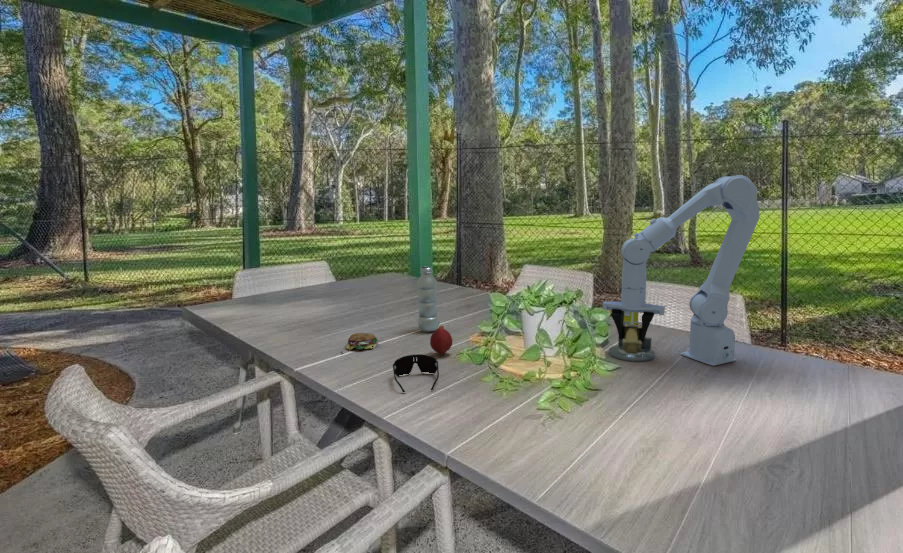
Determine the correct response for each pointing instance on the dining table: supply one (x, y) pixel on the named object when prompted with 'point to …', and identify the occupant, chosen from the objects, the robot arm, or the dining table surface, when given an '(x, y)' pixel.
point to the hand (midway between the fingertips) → (631, 339)
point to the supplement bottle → (630, 318)
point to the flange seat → (633, 356)
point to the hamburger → (361, 341)
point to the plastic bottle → (427, 300)
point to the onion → (441, 340)
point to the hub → (632, 338)
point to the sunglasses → (423, 362)
